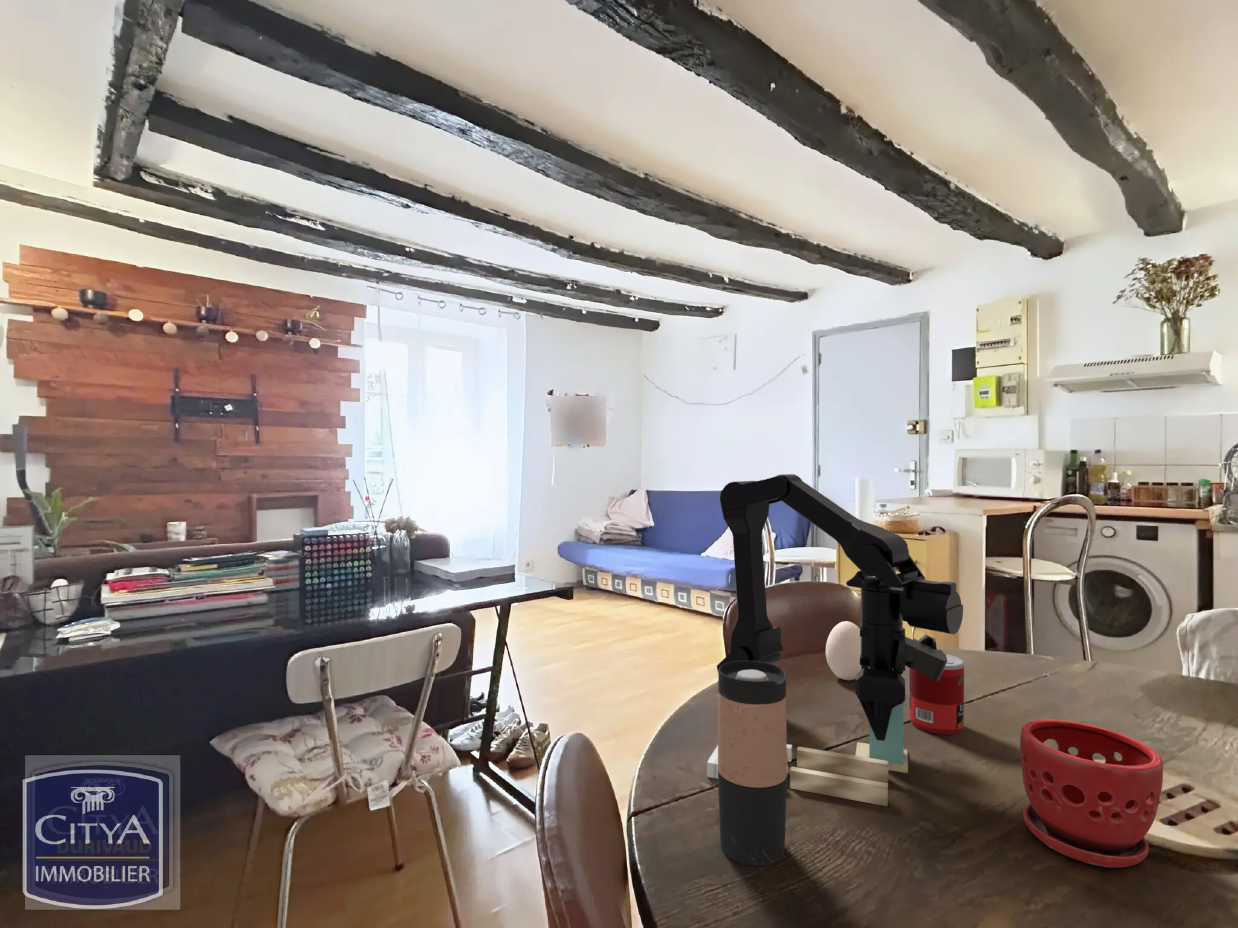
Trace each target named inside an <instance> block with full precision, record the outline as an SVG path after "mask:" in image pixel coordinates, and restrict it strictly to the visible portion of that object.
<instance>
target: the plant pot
mask: <svg viewBox="0 0 1238 928" xmlns="http://www.w3.org/2000/svg"><path fill="white" fill-rule="evenodd" d="M1020 731H1021V732H1020V742H1019V743H1020V744H1019V756H1020V758H1019V759H1020V765H1021V770H1022V781H1023V782H1022V783H1023V788H1024V789H1025V790H1024V791H1025V794H1026V796H1027V799H1028V800H1029V804H1028V805H1027V806H1025V807H1024V810H1023V821H1024V822H1025V825H1026V826H1027V828H1028V829H1029V830H1030V832H1031V833H1032V834H1033V835H1034V836H1035V837H1036V838H1038V839H1039V840H1040V841H1041V842H1042V843H1043V844H1045V845H1046V846H1047V847H1048V848H1049V849H1052V850H1054V851H1056V852H1058V853H1060V854H1062V855H1064V856H1066V857H1069V858H1071V859H1074V860H1076V861H1079V862H1083V863H1085V864H1089V865H1094V866H1099V867H1104V868H1128V867H1132V866H1136V865H1137V864H1139V863H1141V862H1143V861H1144V860H1145V859H1146V858H1147V856H1148V854H1149V851H1150V848H1149V844H1148V841H1147V840H1146V838H1145V836H1146V835H1147V833H1148V832H1149V831H1150V829H1151V828H1152V826H1153V824H1154V821H1155V819H1156V816H1157V813H1158V809H1159V805H1160V804H1159V802H1160V797H1161V794H1162V790H1163V777H1164V761H1163V759H1162V757H1161V755H1160V754H1159V753H1158V752H1157V751H1156V750H1154V749H1153V748H1152V747H1150V746H1149V745H1147V744H1145V743H1144V742H1141V741H1140V740H1137V739H1136V738H1132V737H1130V736H1128V735H1126V734H1123V733H1120V732H1117V731H1114V730H1112V729H1111V730H1110V729H1109V728H1104V727H1102V726H1097V725H1093V724H1088V723H1083V722H1077V721H1071V720H1064V719H1049V718H1048V719H1037V720H1031V721H1029V722H1025V724H1023V725H1022V727H1021V730H1020ZM1047 740H1053V741H1055V742H1056V744H1057V749H1056V748H1054V747H1051V746H1049V745H1047V744H1045V742H1046V741H1047ZM1070 748H1075V749H1076V750H1077V753H1075V754H1072V753H1070V751H1069V749H1070ZM1115 753H1118V754H1119V755H1120V756H1121V760H1118V759H1117V758H1116V756H1115ZM1095 754H1099V755H1101V756H1102V757H1103V758H1105V762H1099V761H1095V760H1094V758H1093V757H1094V755H1095Z"/></svg>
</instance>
